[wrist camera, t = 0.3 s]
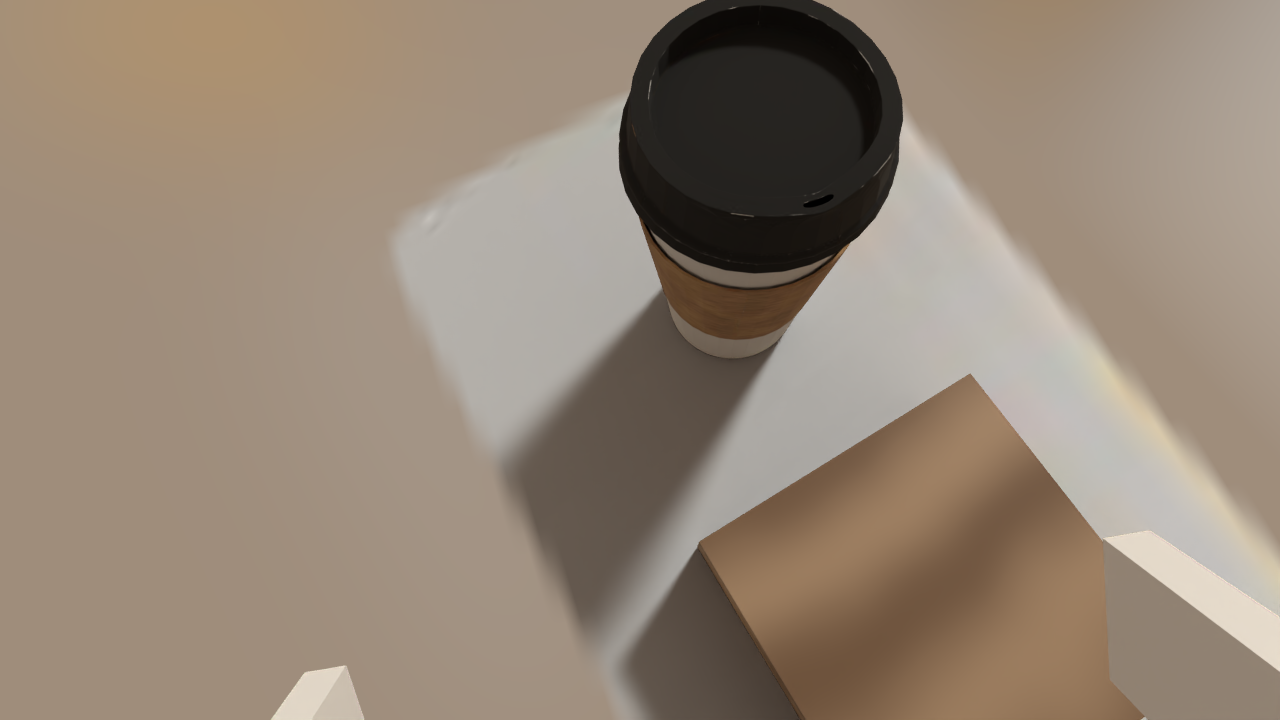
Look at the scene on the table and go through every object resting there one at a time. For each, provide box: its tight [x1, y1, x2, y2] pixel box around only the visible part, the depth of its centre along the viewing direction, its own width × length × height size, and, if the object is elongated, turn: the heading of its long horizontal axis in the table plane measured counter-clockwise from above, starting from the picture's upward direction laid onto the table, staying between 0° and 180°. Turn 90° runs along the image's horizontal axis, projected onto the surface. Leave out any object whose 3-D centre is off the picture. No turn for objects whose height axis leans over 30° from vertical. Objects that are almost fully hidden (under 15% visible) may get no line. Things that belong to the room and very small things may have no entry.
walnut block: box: [698, 374, 1145, 720], centre depth 26 cm, size 12×12×5 cm
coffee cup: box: [619, 0, 903, 359], centre depth 26 cm, size 8×8×15 cm
